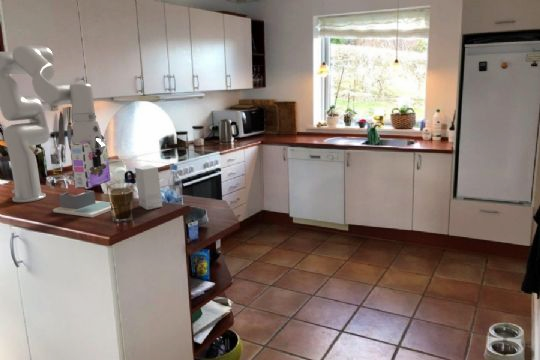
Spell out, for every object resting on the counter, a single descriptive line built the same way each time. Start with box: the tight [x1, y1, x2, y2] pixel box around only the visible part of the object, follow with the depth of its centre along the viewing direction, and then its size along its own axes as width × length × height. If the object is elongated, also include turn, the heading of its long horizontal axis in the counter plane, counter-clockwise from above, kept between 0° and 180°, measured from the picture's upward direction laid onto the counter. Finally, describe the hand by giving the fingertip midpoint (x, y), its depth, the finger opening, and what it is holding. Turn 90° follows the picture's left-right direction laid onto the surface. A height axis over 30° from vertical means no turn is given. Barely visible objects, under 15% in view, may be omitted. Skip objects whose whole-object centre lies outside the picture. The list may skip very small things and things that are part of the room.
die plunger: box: [67, 182, 85, 196], centre depth 177 cm, size 6×6×8 cm
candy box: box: [69, 138, 111, 190], centre depth 171 cm, size 14×6×16 cm, turn 163°
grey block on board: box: [52, 189, 112, 218], centre depth 176 cm, size 20×15×6 cm
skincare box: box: [134, 164, 163, 210], centre depth 175 cm, size 8×7×16 cm
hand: (90, 166), depth 171 cm, fingers closed on candy box, 6 cm apart
